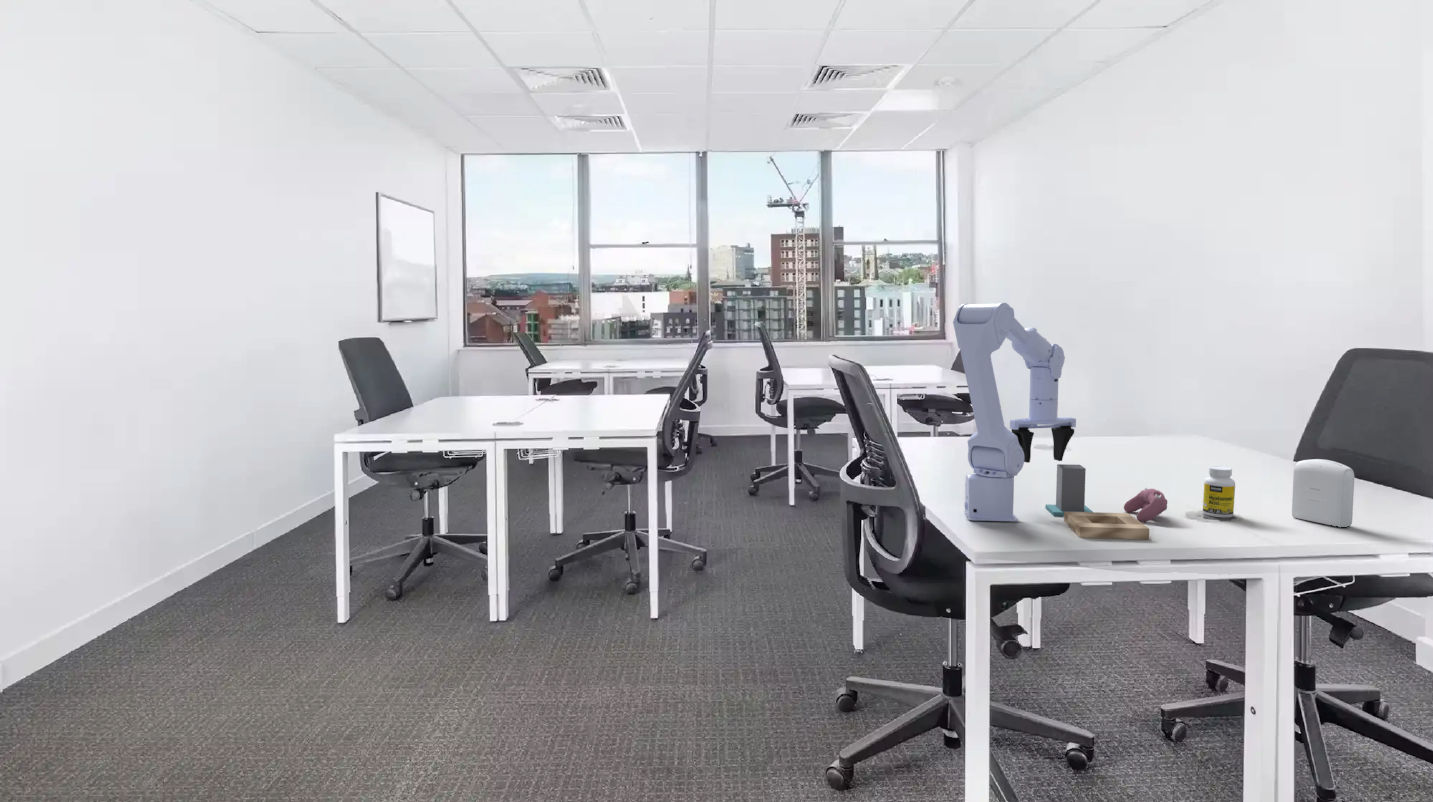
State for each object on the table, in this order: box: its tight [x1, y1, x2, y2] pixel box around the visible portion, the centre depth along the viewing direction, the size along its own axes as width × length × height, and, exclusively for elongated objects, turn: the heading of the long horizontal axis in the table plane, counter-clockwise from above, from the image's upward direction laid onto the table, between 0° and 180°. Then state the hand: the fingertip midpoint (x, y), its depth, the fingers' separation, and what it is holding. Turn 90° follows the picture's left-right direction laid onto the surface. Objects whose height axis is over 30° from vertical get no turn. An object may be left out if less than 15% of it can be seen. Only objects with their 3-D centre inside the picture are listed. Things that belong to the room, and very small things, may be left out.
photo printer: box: [1291, 458, 1355, 528], centre depth 161 cm, size 10×4×12 cm, turn 20°
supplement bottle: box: [1202, 465, 1236, 519], centre depth 168 cm, size 5×5×10 cm
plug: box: [1055, 463, 1087, 512], centre depth 172 cm, size 4×4×9 cm
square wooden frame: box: [1063, 511, 1150, 540], centre depth 158 cm, size 12×12×2 cm
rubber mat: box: [1044, 504, 1094, 517], centre depth 173 cm, size 8×7×1 cm
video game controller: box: [1123, 487, 1168, 523], centre depth 168 cm, size 10×5×7 cm, turn 170°
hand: (1041, 461), depth 180 cm, fingers open, 7 cm apart
